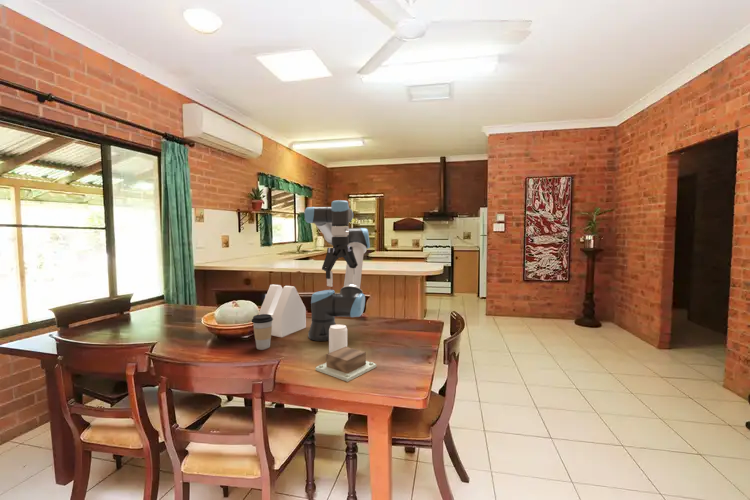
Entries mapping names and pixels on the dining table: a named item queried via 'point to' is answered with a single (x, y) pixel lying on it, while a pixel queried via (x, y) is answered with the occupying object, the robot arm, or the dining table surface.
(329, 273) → the robot arm
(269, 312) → the white notched block
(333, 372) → the baseplate
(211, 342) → the dining table surface
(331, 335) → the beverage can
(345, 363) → the walnut brick
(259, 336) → the coffee cup
